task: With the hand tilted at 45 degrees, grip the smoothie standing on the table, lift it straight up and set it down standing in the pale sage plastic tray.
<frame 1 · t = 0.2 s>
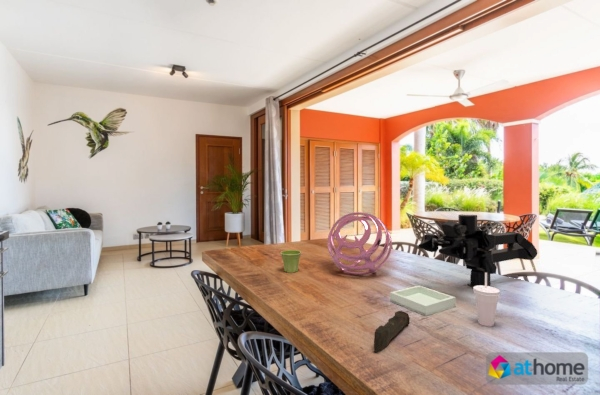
hand: (428, 248, 107), 17 cm above the table, tool horizontal, fingers open, 9 cm apart
pink openwork sphere: (357, 273, 139), on the table
plant pot: (291, 271, 143), on the table
smoothie: (486, 324, 87), on the table
hand tool: (392, 339, 79), on the table
sage tray: (422, 303, 102), on the table
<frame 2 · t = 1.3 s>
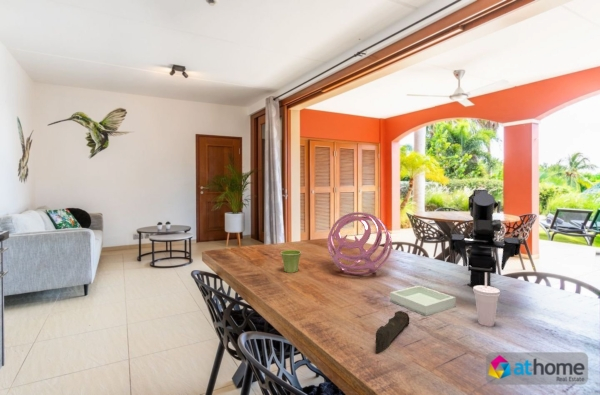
hand: (484, 267, 94), 14 cm above the table, tool tilted 45°, fingers open, 9 cm apart
nothing on the table moved.
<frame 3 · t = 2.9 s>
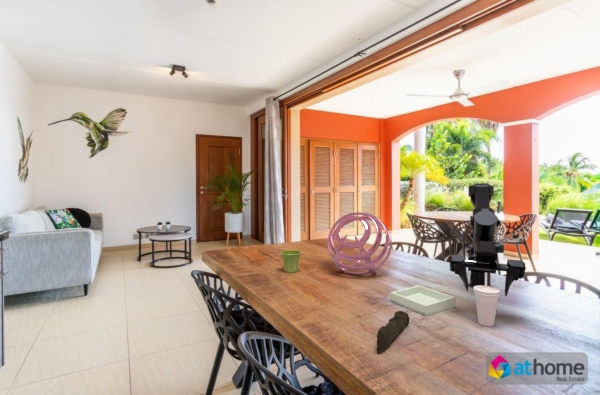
hand: (486, 292, 87), 9 cm above the table, tool tilted 45°, fingers open, 9 cm apart
nothing on the table moved.
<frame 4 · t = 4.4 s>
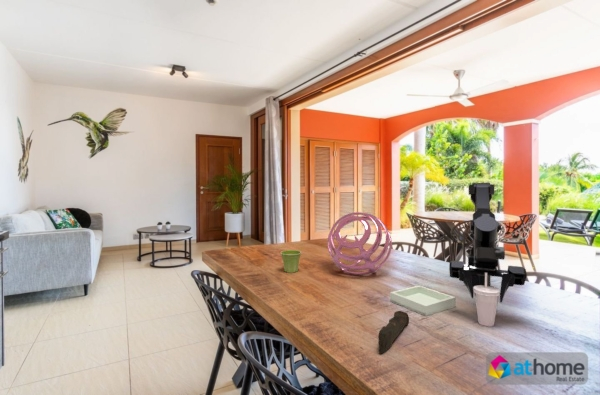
hand: (486, 299, 85), 7 cm above the table, tool tilted 45°, fingers closed on smoothie, 6 cm apart
smoothie: (486, 324, 87), on the table, touching gripper
everything else where it was.
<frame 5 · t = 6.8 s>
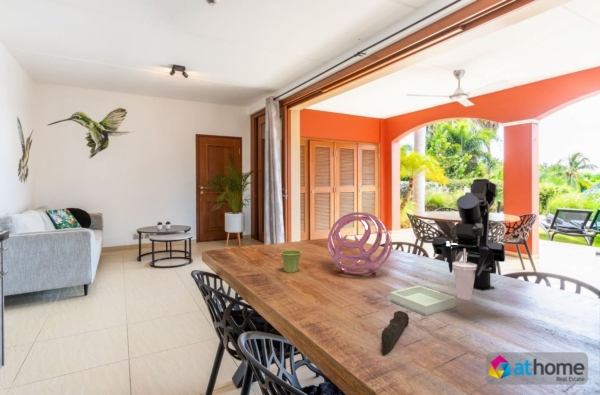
hand: (463, 273, 89), 13 cm above the table, tool tilted 45°, fingers closed on smoothie, 6 cm apart
smoothie: (464, 297, 90), point 6 cm above the table, touching gripper
everything else where it was.
when the fingers open (9 cm above the table, at t = 9.6 s): smoothie drops 1 cm, resting on sage tray.
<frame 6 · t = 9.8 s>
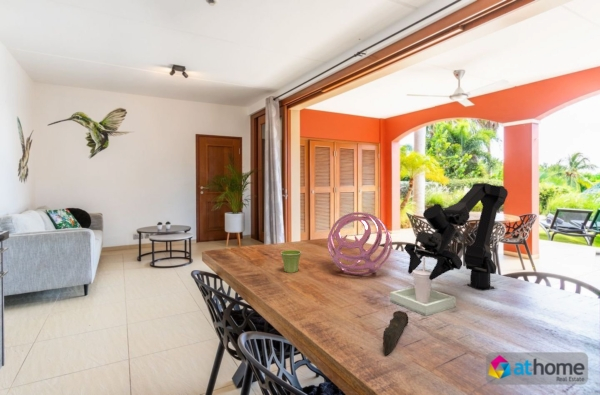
hand: (419, 276, 101), 9 cm above the table, tool tilted 45°, fingers open, 8 cm apart
smoothie: (422, 301, 102), point 1 cm above the table, touching sage tray
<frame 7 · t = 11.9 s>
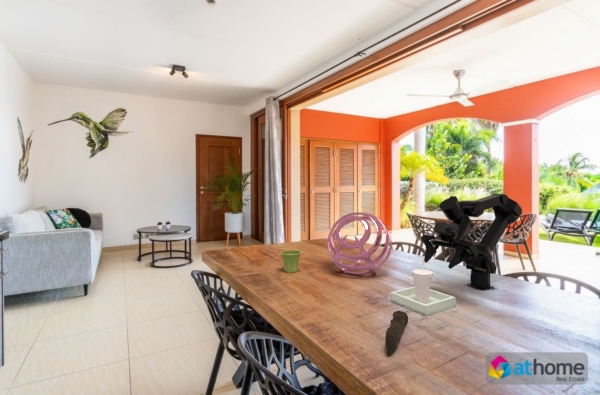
hand: (436, 264, 105), 12 cm above the table, tool tilted 45°, fingers open, 9 cm apart
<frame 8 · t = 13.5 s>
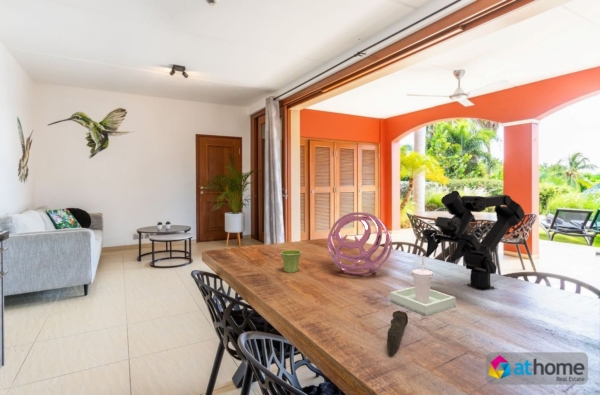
hand: (438, 258, 106), 14 cm above the table, tool tilted 45°, fingers open, 9 cm apart
at the end: smoothie inside the target area on the sage tray (0.1 cm from its centre), point 0.6 cm above the sage tray's base; smoothie tilted 0°; the gripper is holding nothing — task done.
